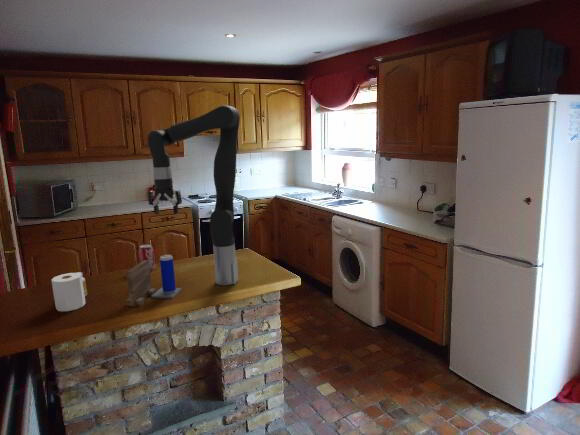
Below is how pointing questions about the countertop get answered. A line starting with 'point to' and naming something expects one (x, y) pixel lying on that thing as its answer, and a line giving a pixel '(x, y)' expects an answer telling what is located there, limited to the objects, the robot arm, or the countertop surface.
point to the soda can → (147, 255)
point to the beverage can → (167, 273)
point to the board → (139, 284)
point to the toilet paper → (68, 291)
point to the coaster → (162, 294)
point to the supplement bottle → (83, 284)
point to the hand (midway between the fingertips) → (166, 214)
